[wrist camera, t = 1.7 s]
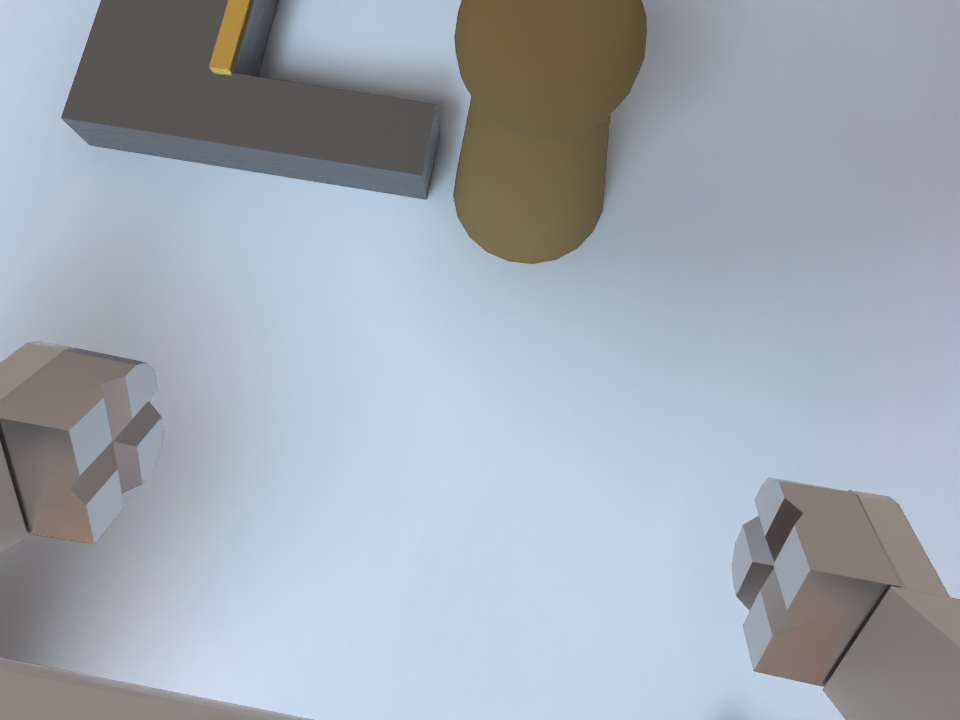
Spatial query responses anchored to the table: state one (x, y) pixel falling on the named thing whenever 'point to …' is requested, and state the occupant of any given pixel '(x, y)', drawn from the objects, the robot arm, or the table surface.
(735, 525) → the table surface
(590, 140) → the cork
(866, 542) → the robot arm
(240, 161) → the grey u-shaped bracket
